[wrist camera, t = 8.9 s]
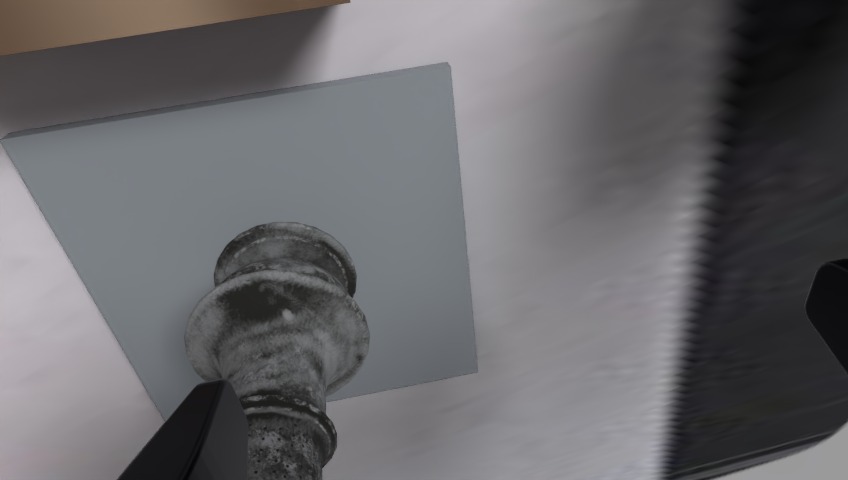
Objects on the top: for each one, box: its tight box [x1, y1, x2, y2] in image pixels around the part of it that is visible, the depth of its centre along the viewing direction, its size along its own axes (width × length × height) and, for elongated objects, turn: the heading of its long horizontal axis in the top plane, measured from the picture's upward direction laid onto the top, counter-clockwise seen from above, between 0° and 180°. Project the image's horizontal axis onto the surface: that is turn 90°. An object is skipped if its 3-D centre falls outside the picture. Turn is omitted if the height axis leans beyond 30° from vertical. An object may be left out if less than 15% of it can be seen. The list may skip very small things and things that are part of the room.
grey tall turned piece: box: [184, 222, 370, 480], centre depth 15 cm, size 6×6×12 cm
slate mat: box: [0, 62, 478, 421], centre depth 21 cm, size 14×14×1 cm
